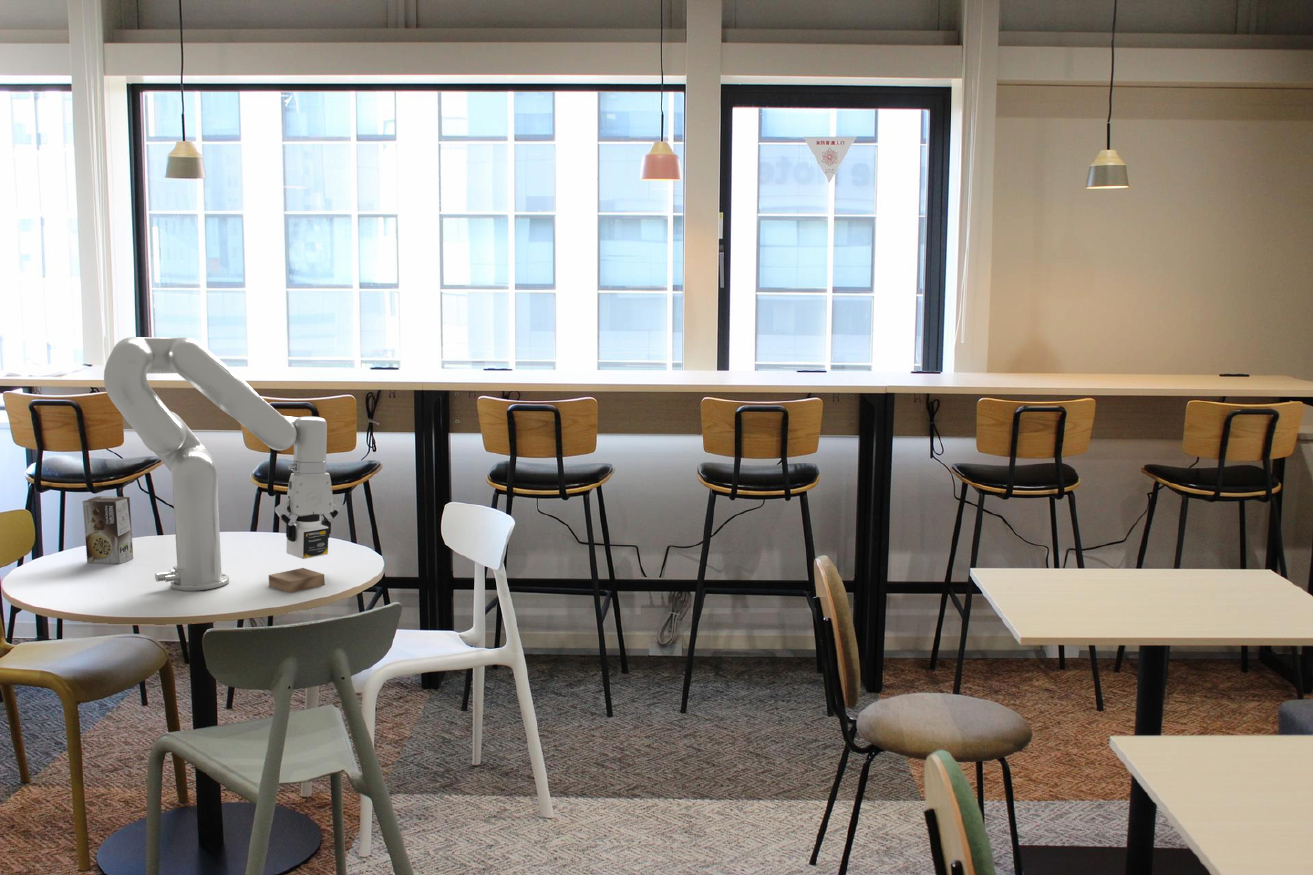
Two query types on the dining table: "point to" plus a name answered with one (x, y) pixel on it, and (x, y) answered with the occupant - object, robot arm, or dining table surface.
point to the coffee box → (108, 529)
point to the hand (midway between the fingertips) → (308, 538)
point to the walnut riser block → (296, 580)
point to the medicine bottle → (309, 538)
